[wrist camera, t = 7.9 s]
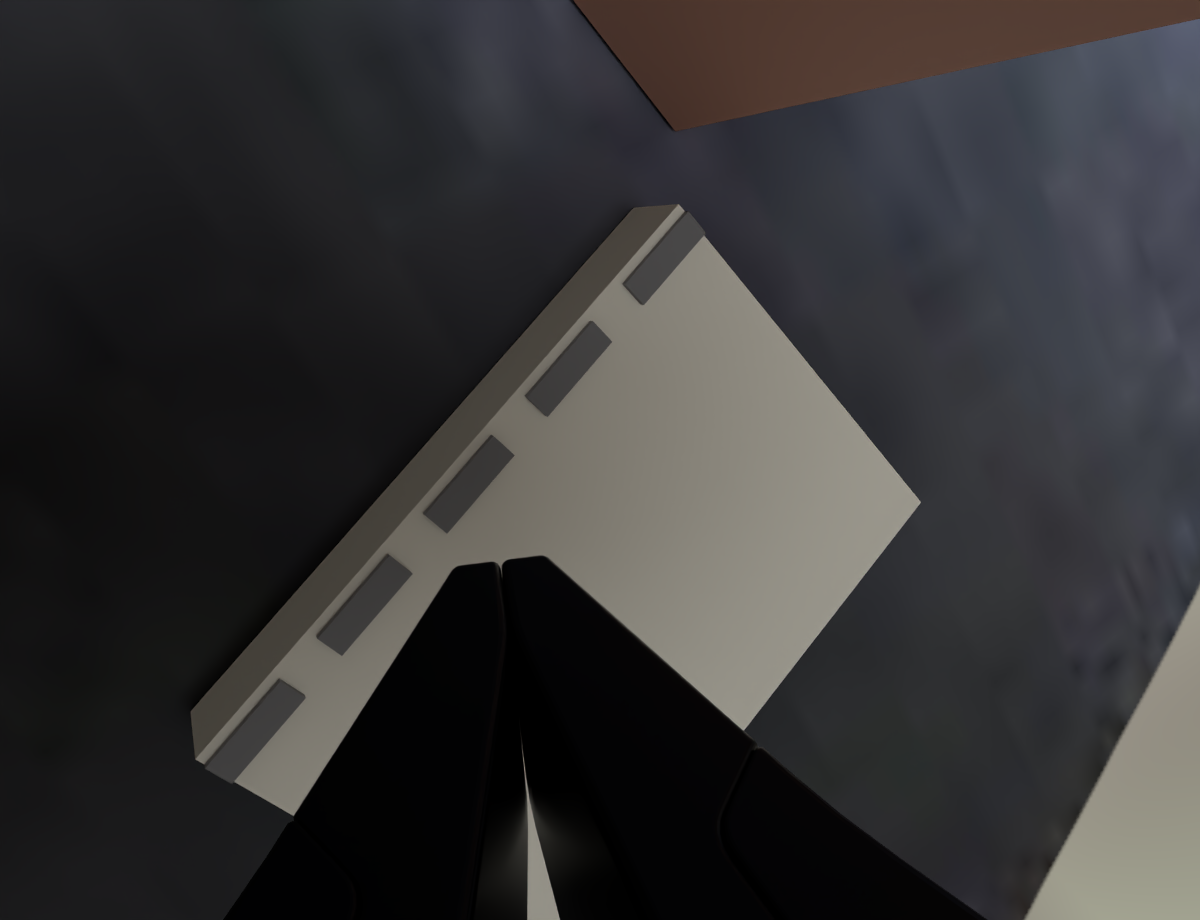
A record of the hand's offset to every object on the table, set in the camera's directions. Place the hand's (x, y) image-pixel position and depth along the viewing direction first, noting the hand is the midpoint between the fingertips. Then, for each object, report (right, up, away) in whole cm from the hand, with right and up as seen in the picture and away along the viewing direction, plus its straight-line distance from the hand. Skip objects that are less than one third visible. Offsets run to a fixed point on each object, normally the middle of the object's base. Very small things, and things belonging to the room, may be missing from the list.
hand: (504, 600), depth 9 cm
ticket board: (0, -2, +13) cm, 14 cm away
